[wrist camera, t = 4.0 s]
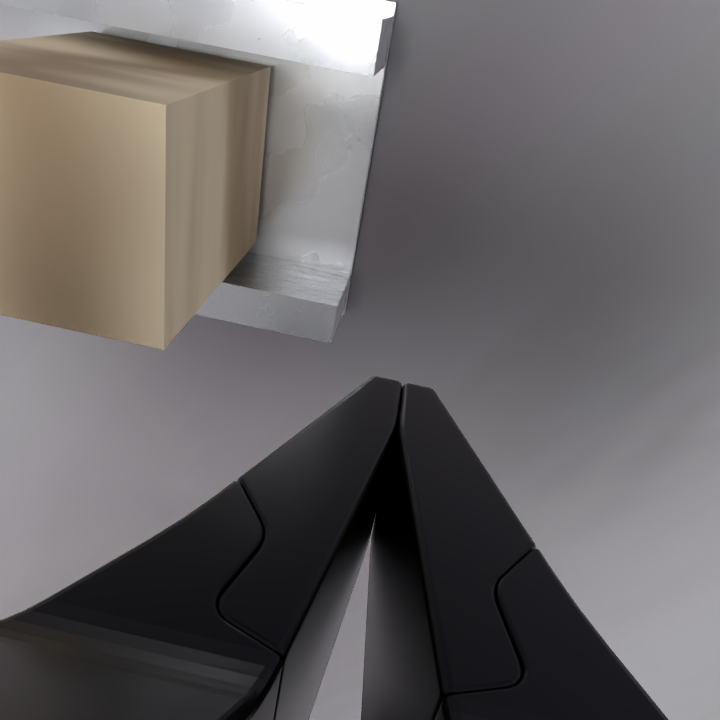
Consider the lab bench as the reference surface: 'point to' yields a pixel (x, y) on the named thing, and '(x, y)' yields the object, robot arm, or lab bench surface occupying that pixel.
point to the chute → (273, 132)
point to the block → (124, 181)
